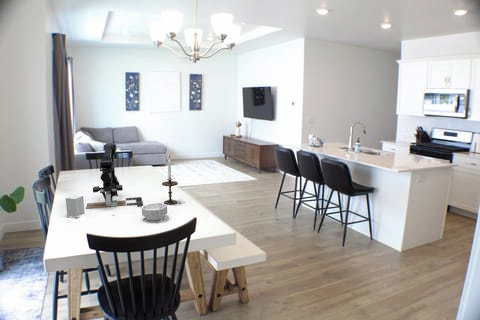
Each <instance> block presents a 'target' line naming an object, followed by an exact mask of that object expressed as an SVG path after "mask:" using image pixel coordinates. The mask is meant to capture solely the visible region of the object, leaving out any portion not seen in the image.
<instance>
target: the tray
mask: <svg viewBox="0 0 480 320" xmlns="http://www.w3.org/2000/svg"><path fill="white" fill-rule="evenodd" d="M125 201H135V202H128V203H127V202H126V207H128V206H137V207H136V208H140V207H141V208H142V206H144V201H143V198H142V196H139V197H138V196H136V197H126V198H125Z"/></svg>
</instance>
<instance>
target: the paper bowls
mask: <svg viewBox="0 0 480 320" xmlns="http://www.w3.org/2000/svg"><path fill="white" fill-rule="evenodd" d="M167 214H168V205H166V204H164V202H153V203H147V204H143V207H141V215H142V216H143V217H144V218H145V220H147V221H152V222H157V221H160V220H162V219H164V217H165V216H166V215H167Z"/></svg>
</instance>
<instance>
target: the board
mask: <svg viewBox="0 0 480 320" xmlns="http://www.w3.org/2000/svg"><path fill="white" fill-rule="evenodd" d="M115 207H127V202H126V199H124V200H117V206H106V201H102V202H98V201H97V202H90V203H89V202H88V203H86V207H85V210H93V209H106V208H115Z"/></svg>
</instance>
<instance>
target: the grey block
mask: <svg viewBox="0 0 480 320" xmlns="http://www.w3.org/2000/svg"><path fill="white" fill-rule="evenodd" d="M105 195H106V201H105V202H106V206H111V191H110V192H109V191H107V192H105Z"/></svg>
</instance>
